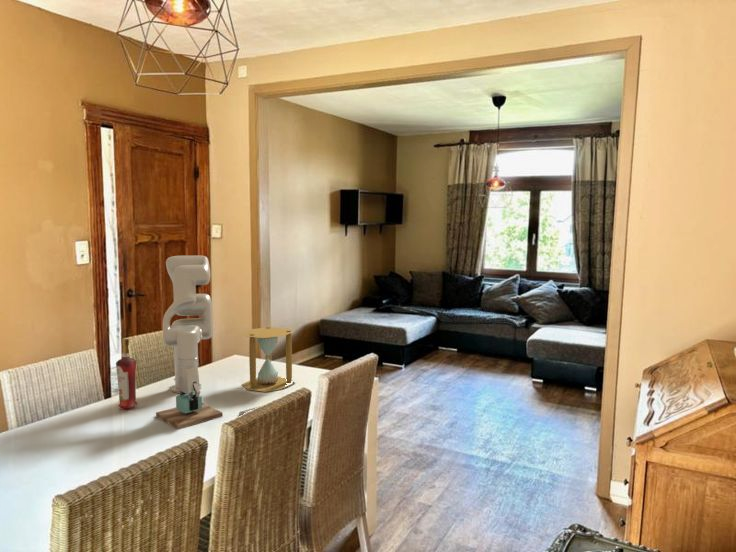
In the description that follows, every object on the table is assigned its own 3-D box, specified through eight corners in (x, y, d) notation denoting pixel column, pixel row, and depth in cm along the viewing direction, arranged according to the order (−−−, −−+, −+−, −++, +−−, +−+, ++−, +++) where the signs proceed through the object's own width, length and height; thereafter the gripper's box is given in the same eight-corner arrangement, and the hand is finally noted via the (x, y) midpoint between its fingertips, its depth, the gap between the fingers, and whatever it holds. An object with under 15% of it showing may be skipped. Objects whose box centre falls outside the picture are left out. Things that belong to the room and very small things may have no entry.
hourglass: (272, 374, 260) (271, 324, 257) (304, 383, 245) (303, 330, 243) (232, 385, 241) (231, 331, 239) (264, 395, 227) (263, 338, 225)
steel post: (183, 412, 203) (183, 397, 202) (191, 410, 205) (190, 395, 204) (187, 414, 201) (187, 399, 200) (194, 412, 203) (194, 397, 202)
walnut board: (156, 416, 203) (156, 412, 203) (199, 404, 216) (199, 401, 216) (177, 429, 190) (177, 425, 190) (222, 416, 203) (222, 412, 203)
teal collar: (176, 408, 203) (175, 396, 202) (193, 404, 208) (192, 392, 207) (184, 413, 198) (184, 400, 197) (202, 408, 203) (201, 396, 202)
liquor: (113, 409, 210) (110, 340, 208) (129, 403, 217) (126, 336, 214) (126, 412, 207) (123, 342, 204) (141, 406, 213) (139, 338, 211)
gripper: (167, 359, 204) (169, 404, 206) (189, 368, 192) (190, 415, 194) (186, 356, 210) (187, 399, 212) (208, 364, 198) (209, 410, 199)
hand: (189, 406), depth 203 cm, fingers closed on teal collar, 6 cm apart
